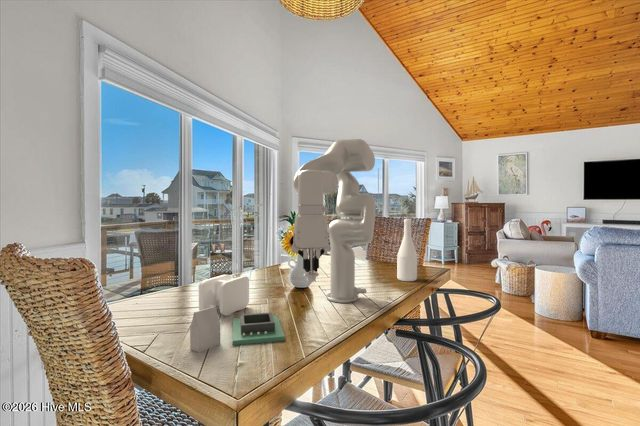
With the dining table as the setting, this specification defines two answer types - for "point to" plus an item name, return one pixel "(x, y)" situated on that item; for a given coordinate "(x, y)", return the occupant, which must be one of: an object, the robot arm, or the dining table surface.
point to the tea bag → (205, 329)
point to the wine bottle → (407, 256)
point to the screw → (311, 268)
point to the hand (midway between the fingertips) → (311, 270)
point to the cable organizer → (224, 293)
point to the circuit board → (257, 329)
